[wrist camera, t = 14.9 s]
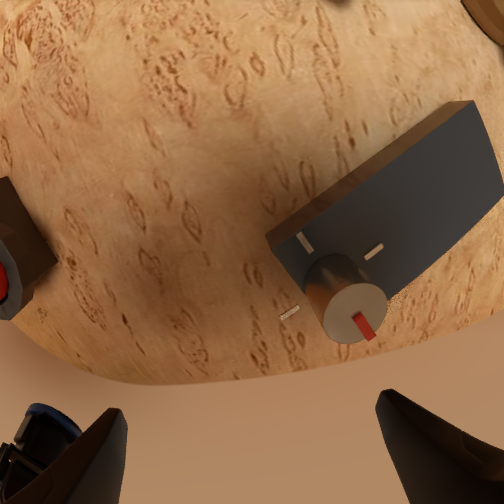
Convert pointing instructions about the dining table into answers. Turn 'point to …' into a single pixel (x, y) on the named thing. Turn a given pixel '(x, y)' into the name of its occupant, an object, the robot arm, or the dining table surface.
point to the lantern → (488, 17)
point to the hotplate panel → (399, 203)
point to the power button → (3, 281)
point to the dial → (345, 299)
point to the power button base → (20, 252)
